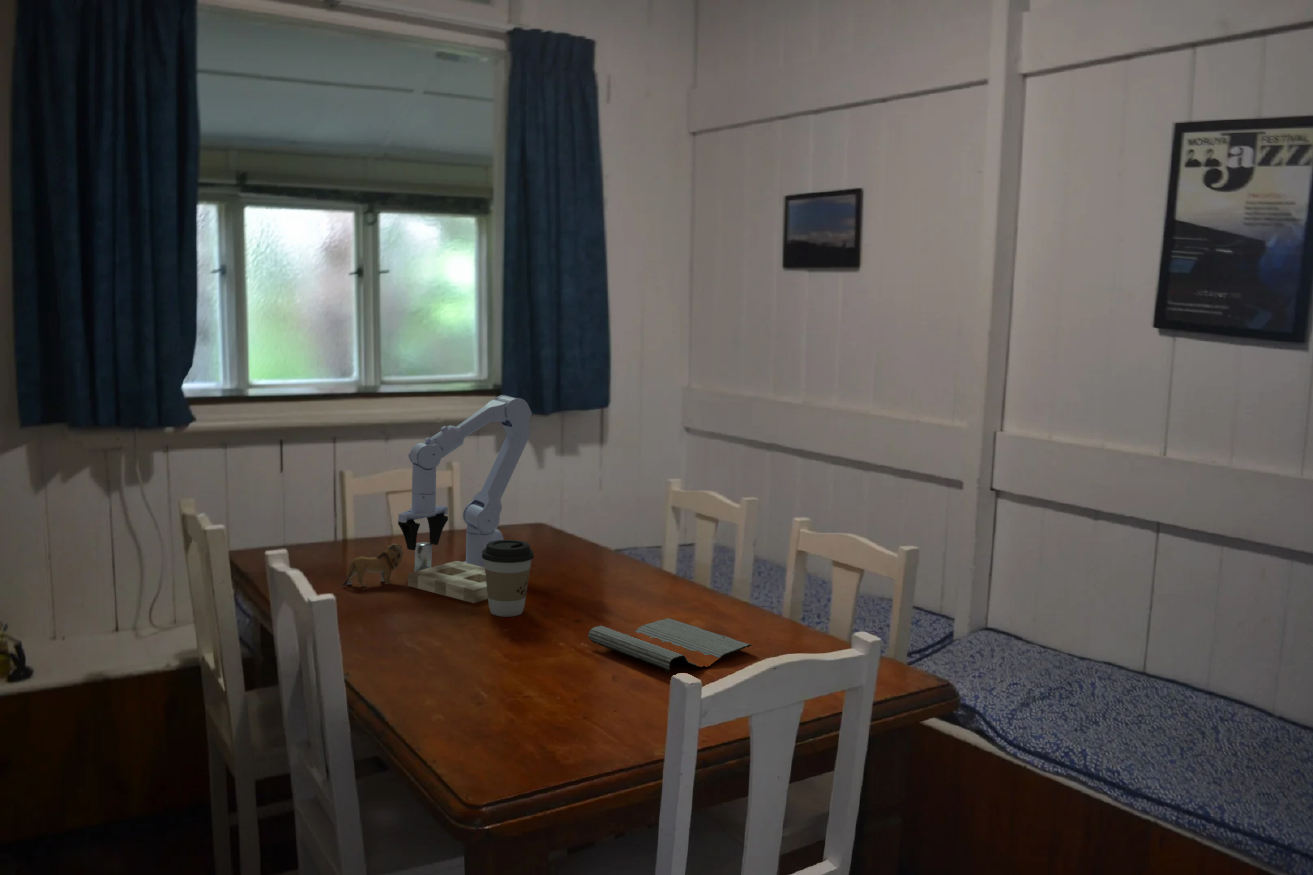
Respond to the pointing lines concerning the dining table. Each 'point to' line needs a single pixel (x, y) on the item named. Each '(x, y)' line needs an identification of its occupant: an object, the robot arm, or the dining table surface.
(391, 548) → the lion figurine
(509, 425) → the robot arm
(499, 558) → the coffee cup
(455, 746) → the dining table surface
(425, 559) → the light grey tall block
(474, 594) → the jig plate
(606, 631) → the mat
